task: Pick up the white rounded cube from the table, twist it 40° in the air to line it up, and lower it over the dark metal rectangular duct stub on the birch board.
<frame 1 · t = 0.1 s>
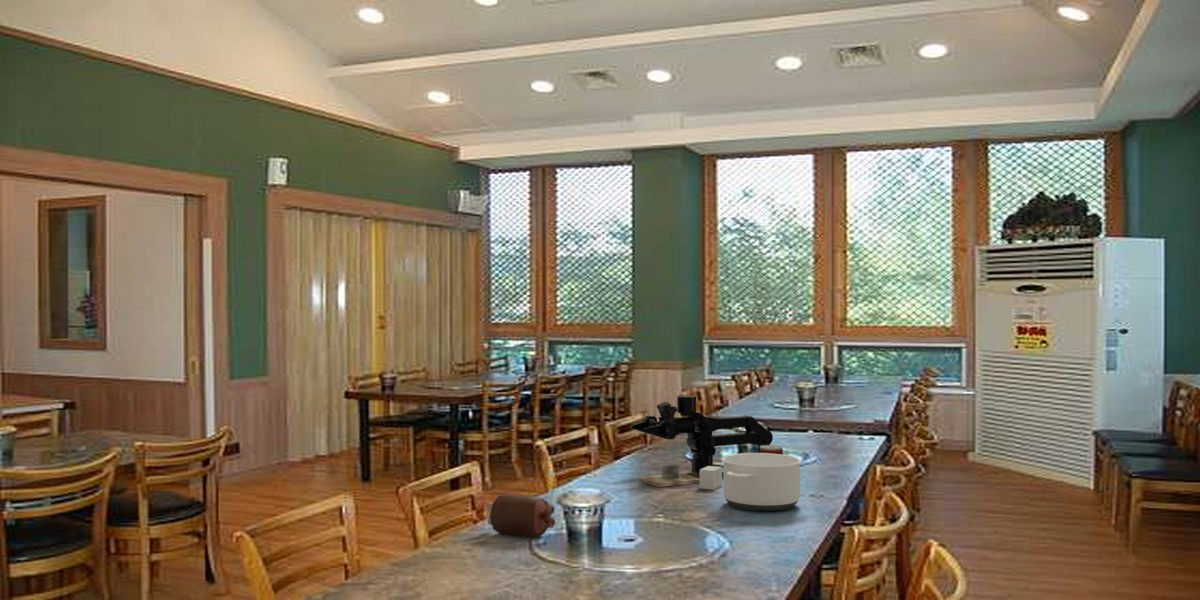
hand: (637, 428, 322), 17 cm above the table, tool horizontal, fingers open, 9 cm apart
meat: (520, 536, 243), on the table
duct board: (670, 481, 314), on the table
pot: (761, 506, 277), on the table
canned food: (771, 479, 318), on the table
white rounded cube: (710, 486, 305), on the table
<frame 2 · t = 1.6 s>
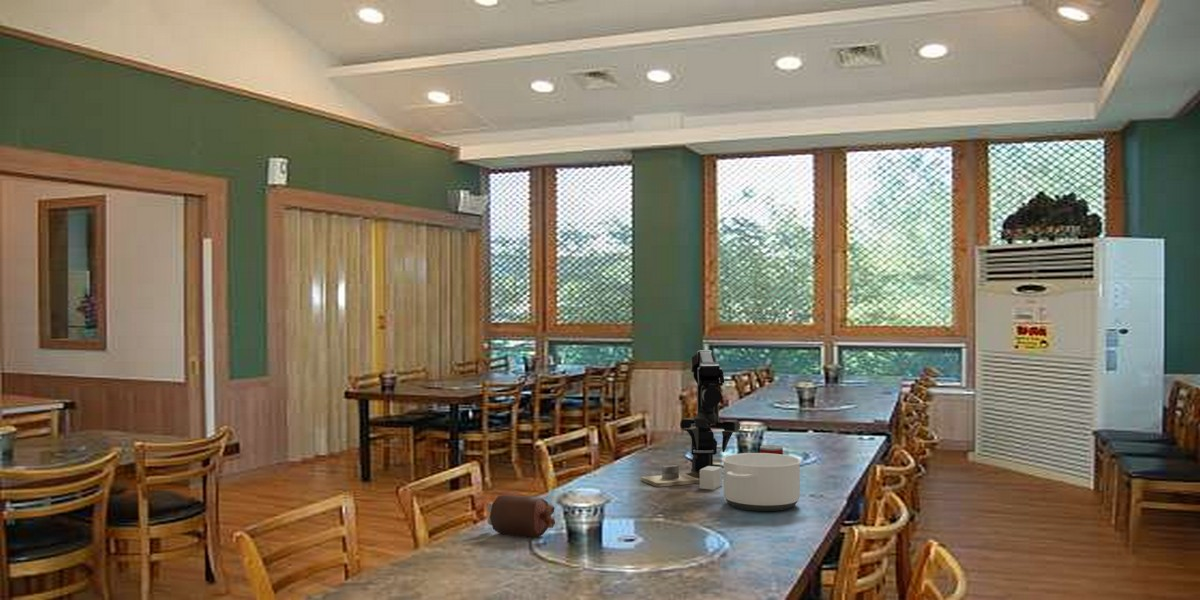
hand: (710, 451, 305), 12 cm above the table, tool pointing down, fingers open, 9 cm apart
nothing on the table moved.
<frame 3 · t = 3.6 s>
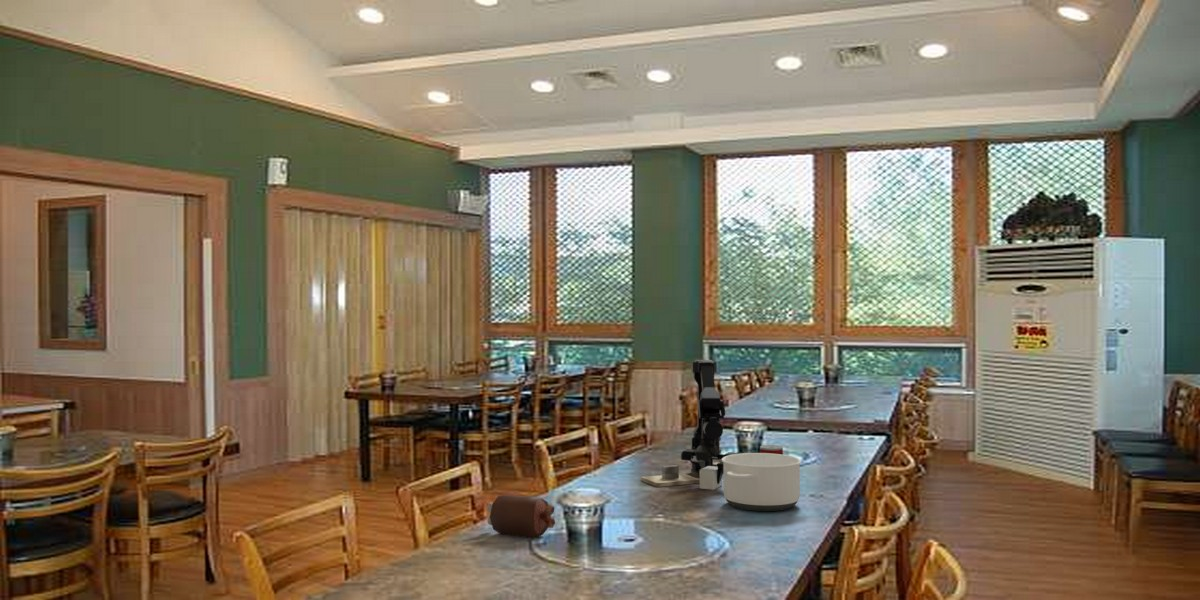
hand: (710, 483, 305), 1 cm above the table, tool pointing down, fingers closed on white rounded cube, 5 cm apart
white rounded cube: (710, 486, 305), on the table, touching gripper
everything else where it was.
when the fingers open (4 cm above the table, at t = 9.7 s): white rounded cube drops 1 cm, resting on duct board.
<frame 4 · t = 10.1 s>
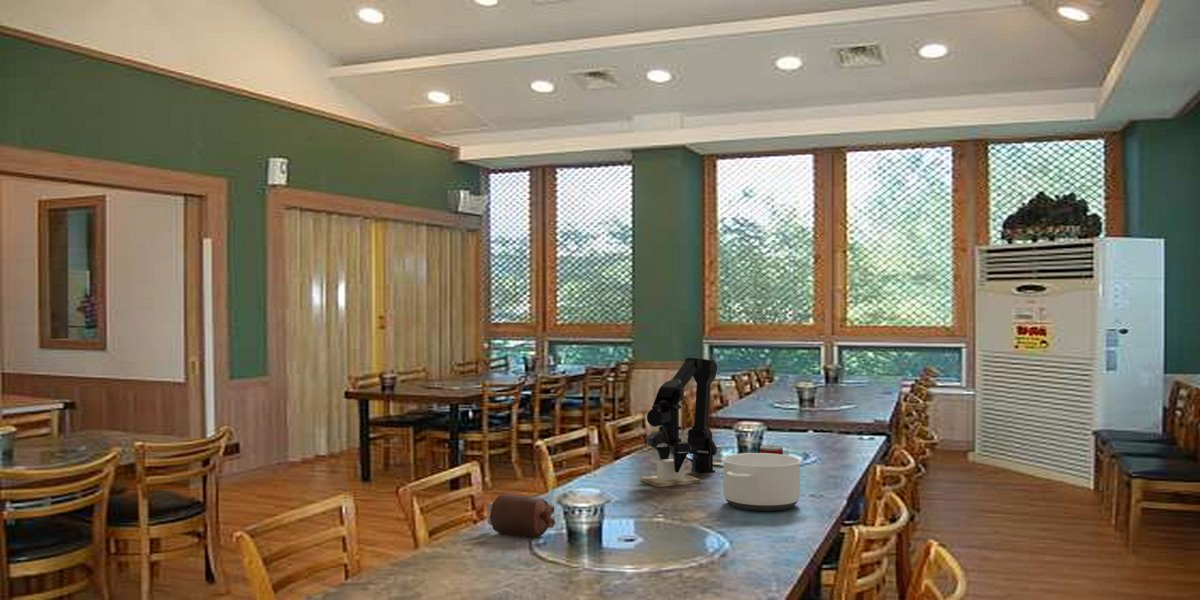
hand: (670, 470, 314), 4 cm above the table, tool pointing down, fingers open, 9 cm apart
white rounded cube: (670, 478, 314), point 1 cm above the table, touching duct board
everything else where it was.
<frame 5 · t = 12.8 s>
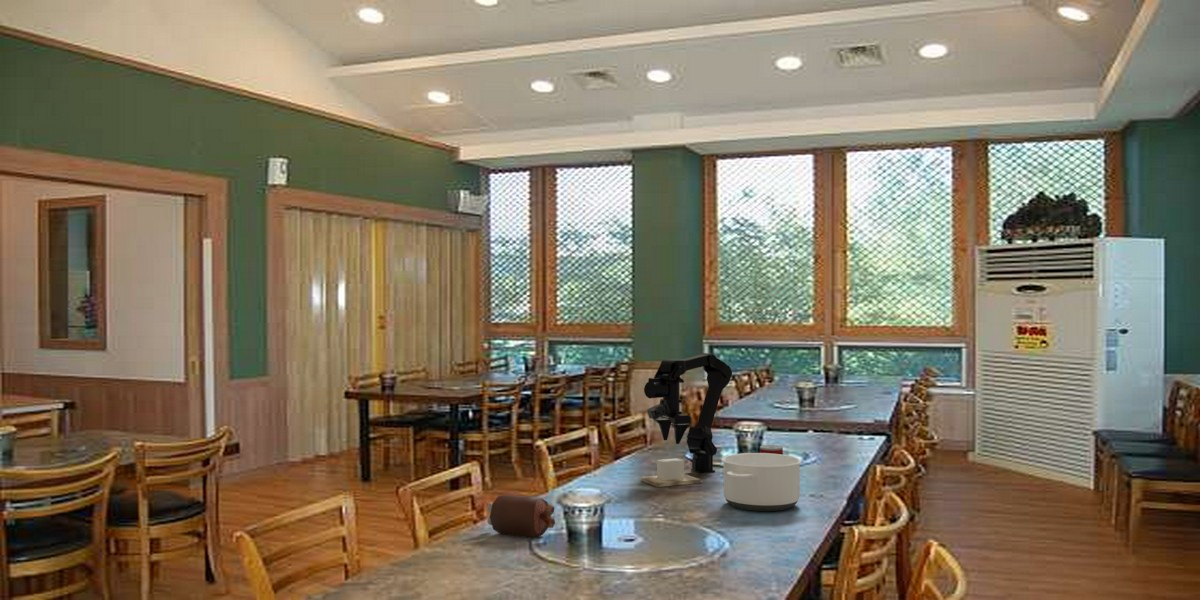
hand: (671, 442, 322), 12 cm above the table, tool pointing down, fingers open, 9 cm apart
nothing on the table moved.
at the end: white rounded cube 0.0 cm off-centre on the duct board, point 1.2 cm above the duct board's base; white rounded cube tilted 0°; the gripper is holding nothing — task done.
